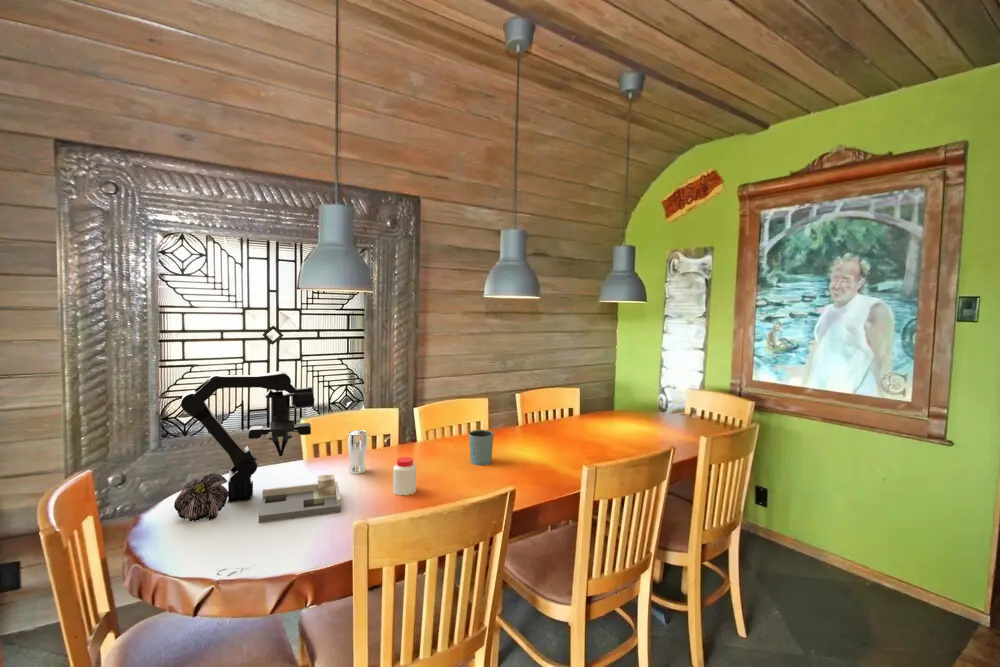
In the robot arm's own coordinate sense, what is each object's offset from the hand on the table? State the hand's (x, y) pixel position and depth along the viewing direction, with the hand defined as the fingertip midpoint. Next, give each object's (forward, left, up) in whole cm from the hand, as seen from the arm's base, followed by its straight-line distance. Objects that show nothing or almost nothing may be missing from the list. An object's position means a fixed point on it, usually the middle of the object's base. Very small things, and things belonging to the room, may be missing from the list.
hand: (280, 455), depth 165 cm
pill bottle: (+39, -13, -12) cm, 43 cm away
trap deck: (+6, -16, -12) cm, 21 cm away
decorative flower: (-21, -11, -12) cm, 27 cm away
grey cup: (+74, +8, -12) cm, 75 cm away
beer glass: (+26, +12, -12) cm, 31 cm away
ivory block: (+14, -11, -10) cm, 21 cm away
